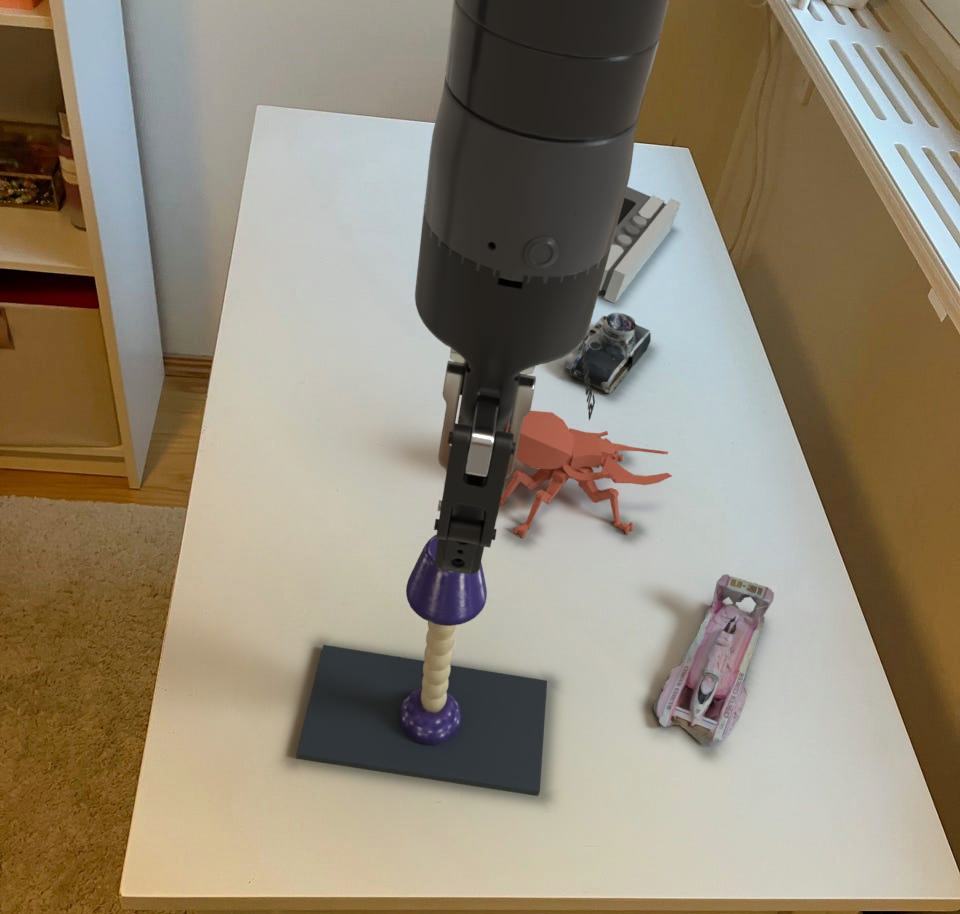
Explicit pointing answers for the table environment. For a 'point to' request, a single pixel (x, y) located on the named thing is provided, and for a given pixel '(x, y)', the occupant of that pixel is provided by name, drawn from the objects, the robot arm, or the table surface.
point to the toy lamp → (438, 643)
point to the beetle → (571, 460)
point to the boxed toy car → (715, 664)
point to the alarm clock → (636, 239)
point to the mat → (385, 747)
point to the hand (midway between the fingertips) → (465, 506)
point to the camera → (610, 351)
